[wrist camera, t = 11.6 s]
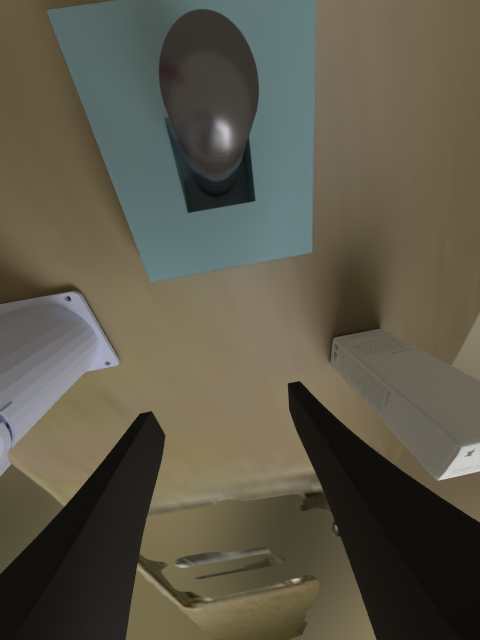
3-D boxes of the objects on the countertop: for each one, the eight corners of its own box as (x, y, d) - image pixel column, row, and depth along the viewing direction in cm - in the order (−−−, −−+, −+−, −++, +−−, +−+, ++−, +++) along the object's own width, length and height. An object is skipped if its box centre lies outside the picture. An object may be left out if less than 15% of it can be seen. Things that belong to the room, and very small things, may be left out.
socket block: (162, 274, 16) (150, 282, 13) (90, 67, 10) (45, 10, 8) (296, 249, 16) (311, 252, 13) (292, 37, 11) (316, -28, 8)
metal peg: (201, 202, 13) (183, 164, 6) (185, 151, 12) (139, 28, 5) (240, 190, 13) (267, 137, 6) (228, 137, 12) (245, -8, 5)
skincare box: (328, 364, 23) (432, 487, 12) (331, 334, 21) (458, 447, 10) (376, 355, 23) (521, 467, 12) (383, 324, 21) (565, 424, 10)
